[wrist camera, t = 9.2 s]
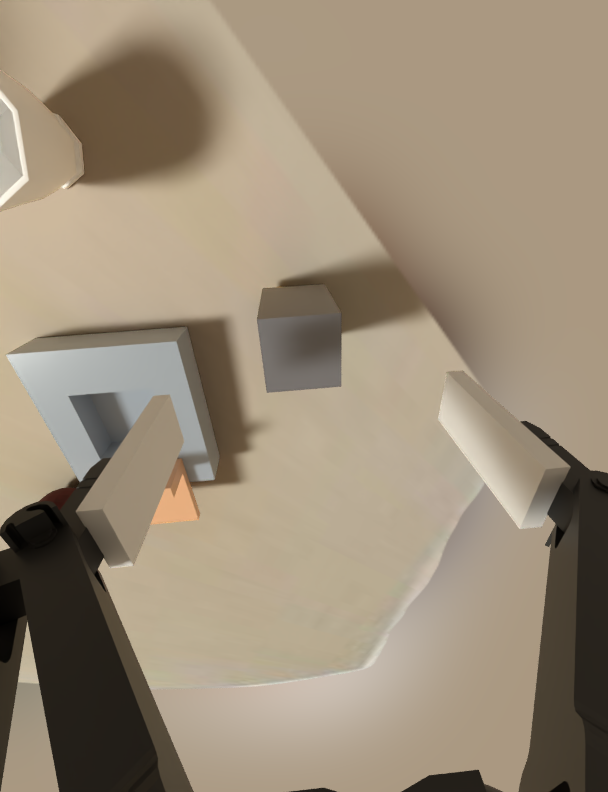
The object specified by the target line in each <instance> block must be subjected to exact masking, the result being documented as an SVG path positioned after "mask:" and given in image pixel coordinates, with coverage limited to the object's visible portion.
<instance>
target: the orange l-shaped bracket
mask: <svg viewBox="0 0 608 792" xmlns="http://www.w3.org/2000/svg"><path fill="white" fill-rule="evenodd" d="M199 516H200V512H199V509H198V506H197V503H196V500H195V497H194V494H193V491H192V488H191V485H190V482H189V479H188V476H187V473H186V470H185V467H184V464H183V461H182V458H180V459H177V460H176V463H175V465H174V468H173V470H172V473H171V475H170V478H169V480H168V482H167V485H166V487H165V490H164V492H163V495H162V497H161V500H160V502H159V504H158V507H157V509H156V512H155V514H154V517H153V519H152V522H151V524H160V523H171V522H181V521H192V520H199Z"/></svg>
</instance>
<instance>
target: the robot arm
mask: <svg viewBox="0 0 608 792" xmlns="http://www.w3.org/2000/svg"><path fill="white" fill-rule="evenodd" d="M438 420H439V421H440V423H441V424H442V425H443V427H444V428H445V429H446V431H447V432H448V433H449V435H450V436H451V437H452V439H453V440H454V441H455V443H456V444H457V445H458V447H459V448H460V449H461V451H462V452H463V454H464V455H465V456H466V458H467V459H468V460H469V462H470V463H471V464H472V466H473V467H474V468H475V470H476V471H477V472H478V474H479V475H480V476H481V478H482V479H483V480H484V482H485V483H486V484H487V486H488V487H489V488H490V489H491V491H492V492H493V494H494V495H495V496H496V498H497V499H498V500H499V502H500V503H501V504H502V506H503V507H504V508H505V510H506V511H507V512H508V514H509V515H510V516H511V517H512V519H513V520H514V522H515V523H516V524H517V526H518V527H519V528H520V529H524V528H535V527H542V525H543V523H544V521H545V519H546V516H547V515H549V517H550V518H551V519H552V520H553V521H554V522H555V523H556V525H555V527H554V529H553V531H552V532H551V534H550V536H549V538H548V540H547V542H546V544H545V545H546V546H548V547H549V546H550V544H551V548H550V558H549V568H548V577H547V586H546V596H545V606H544V616H543V625H542V636H541V644H540V655H539V664H538V673H537V683H536V693H535V702H534V713H533V722H532V731H531V741H530V749H529V755H528V759H527V762H526V765H525V768H524V770H523V773H522V778H521V782H520V787H519V792H608V473H604V472H600V471H590V470H589V469H588V468H586V467H585V466H584V465H583V464H582V463H581V462H580V461H578V460H577V459H576V458H575V457H574V456H572V455H571V454H570V453H569V452H568V451H567V450H565V449H564V448H563V447H562V446H559V444H558V443H557V442H556V441H555V440H554V439H551V438H550V436H549V435H548V434H546V433H545V432H544V431H543V430H542V429H541V428H539V427H537V426H535V425H533V424H531V423H529V422H527V421H521V422H520V421H519V420H518V419H516V418H515V417H514V416H513V415H512V414H511V413H510V412H508V411H507V410H506V409H505V408H504V407H503V406H502V405H501V404H499V403H498V402H497V401H496V400H495V399H494V398H493V397H492V396H491V395H489V394H488V393H487V392H486V391H485V390H484V389H483V388H482V387H481V386H479V385H478V384H477V383H476V382H475V381H474V380H473V379H472V378H470V377H469V376H468V375H467V374H466V373H465V372H464V371H452V372H447V374H446V379H445V385H444V390H443V396H442V401H441V406H440V412H439V417H438ZM183 443H184V438H183V435H182V432H181V429H180V426H179V422H178V419H177V416H176V413H175V409H174V406H173V403H172V400H171V397H170V394H169V395H157V396H153V397H152V398H151V400H150V401H149V403H148V404H147V406H146V407H145V409H144V410H143V412H142V413H141V415H140V416H139V418H138V419H137V421H136V422H135V424H134V425H133V427H132V428H131V430H130V431H129V433H128V434H127V436H126V437H125V439H124V440H123V442H122V443H121V445H120V446H119V448H118V449H117V451H116V452H115V454H114V455H113V457H112V458H102V459H101V460H100V461H99V462H97V463H96V464H95V465H94V466H92V467H91V468H90V469H89V471H88V472H87V473H86V475H85V476H84V478H83V481H81V482H80V483H79V484H78V486H77V487H76V490H74V491H73V493H72V494H71V495H70V497H69V498H68V500H67V501H66V502H65V504H64V505H63V506H62V508H61V509H60V510H59V509H58V507H57V506H56V505H55V504H54V503H53V502H51V501H41V502H36V503H33V504H30V505H28V506H25V507H24V508H22V509H20V510H19V511H17V512H15V513H14V514H13V515H12V516H10V517H9V518H8V519H7V520H6V521H5V522H4V524H3V525H2V527H1V529H0V536H1V537H2V538H3V539H4V541H5V542H6V543H7V544H8V545H9V547H10V548H9V549H6V550H3V551H0V791H1V784H2V778H3V772H4V765H5V759H6V753H7V746H8V740H9V733H10V727H11V721H12V714H13V708H14V702H15V695H16V689H17V683H18V676H19V670H20V664H21V657H22V651H23V645H24V638H25V632H26V626H27V620H28V626H29V631H30V636H31V642H32V647H33V652H34V658H35V663H36V669H37V674H38V679H39V685H40V690H41V695H42V700H43V706H44V711H45V717H46V722H47V727H48V733H49V738H50V744H51V749H52V754H53V760H54V765H55V770H56V776H57V781H58V787H59V792H194V791H193V790H192V787H191V785H190V783H189V780H188V778H187V775H186V773H185V771H184V769H183V767H182V764H181V761H180V759H179V757H178V754H177V752H176V750H175V747H174V745H173V742H172V740H171V738H170V736H169V733H168V731H167V728H166V726H165V724H164V722H163V719H162V717H161V714H160V712H159V710H158V707H157V705H156V702H155V700H154V698H153V695H152V693H151V691H150V688H149V686H148V684H147V681H146V679H145V677H144V674H143V672H142V669H141V667H140V665H139V662H138V660H137V658H136V655H135V653H134V651H133V648H132V646H131V644H130V641H129V639H128V636H127V634H126V632H125V629H124V627H123V625H122V622H121V620H120V618H119V615H118V613H117V611H116V608H115V606H114V604H113V601H112V599H111V596H110V594H109V592H108V589H107V587H106V585H105V582H104V580H103V578H102V575H101V573H100V572H99V570H98V568H99V566H100V564H101V562H102V560H103V558H104V559H105V561H106V562H107V564H108V565H109V567H110V568H116V567H126V566H134V563H135V561H136V558H137V556H138V553H139V551H140V549H141V546H142V544H143V541H144V539H145V536H146V534H147V531H148V529H149V526H150V524H151V522H152V519H153V517H154V514H155V512H156V509H157V507H158V504H159V502H160V500H161V497H162V495H163V492H164V490H165V487H166V485H167V482H168V480H169V478H170V475H171V473H172V470H173V468H174V465H175V463H176V460H177V458H178V455H179V453H180V451H181V448H182V446H183ZM291 792H336V791H332V790H329V789H326V788H318V789H309V790H300V791H291ZM402 792H502V791H500V790H498V789H496V788H493V787H491V786H489V785H485V784H484V783H483V780H482V778H481V775H480V772H479V770H473V771H464V772H456V773H447V774H438V775H429V776H427V777H426V778H424V779H422V780H421V781H419V782H417V783H416V784H414V785H412V786H410V787H409V788H407V789H405V790H404V791H402Z"/></svg>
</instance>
